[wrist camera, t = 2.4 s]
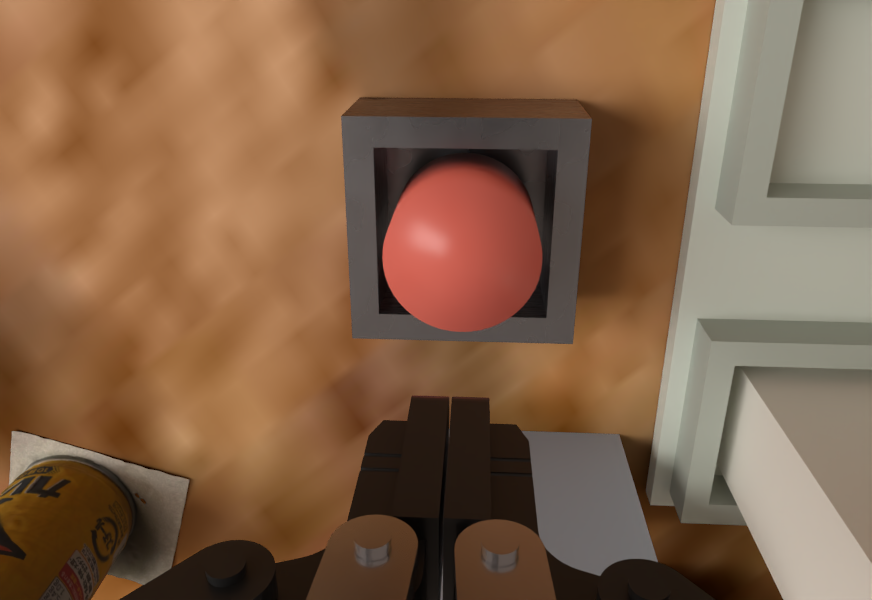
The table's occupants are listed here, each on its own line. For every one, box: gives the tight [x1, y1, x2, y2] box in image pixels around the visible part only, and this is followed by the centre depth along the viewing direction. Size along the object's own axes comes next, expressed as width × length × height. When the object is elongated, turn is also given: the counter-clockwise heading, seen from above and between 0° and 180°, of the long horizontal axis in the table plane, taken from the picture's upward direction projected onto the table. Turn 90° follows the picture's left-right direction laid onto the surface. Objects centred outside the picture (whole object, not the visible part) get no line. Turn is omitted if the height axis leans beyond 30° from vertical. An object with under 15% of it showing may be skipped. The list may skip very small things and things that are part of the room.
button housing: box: [341, 98, 592, 344], centre depth 27 cm, size 8×8×4 cm
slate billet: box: [440, 429, 658, 600], centre depth 27 cm, size 5×10×14 cm, turn 90°
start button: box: [382, 153, 542, 332], centre depth 25 cm, size 5×5×4 cm
